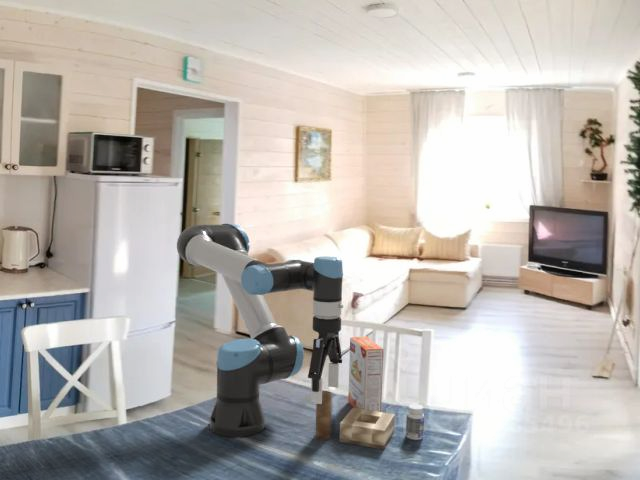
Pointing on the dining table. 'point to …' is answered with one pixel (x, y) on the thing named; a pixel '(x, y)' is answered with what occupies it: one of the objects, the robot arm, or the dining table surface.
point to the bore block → (367, 428)
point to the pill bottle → (415, 422)
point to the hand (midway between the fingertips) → (325, 394)
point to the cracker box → (365, 374)
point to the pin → (323, 417)
